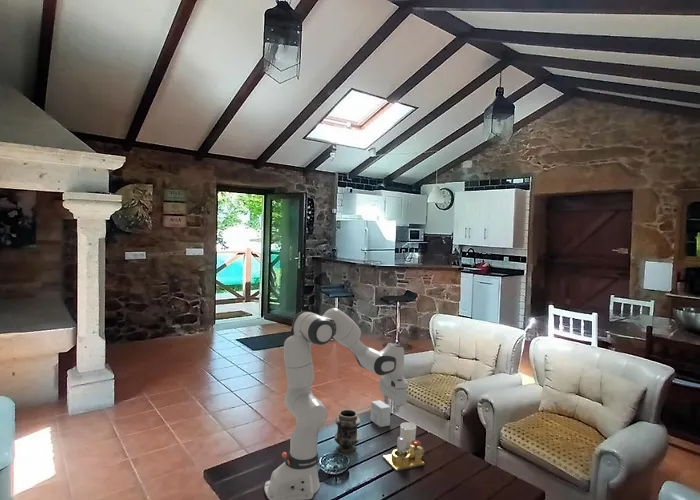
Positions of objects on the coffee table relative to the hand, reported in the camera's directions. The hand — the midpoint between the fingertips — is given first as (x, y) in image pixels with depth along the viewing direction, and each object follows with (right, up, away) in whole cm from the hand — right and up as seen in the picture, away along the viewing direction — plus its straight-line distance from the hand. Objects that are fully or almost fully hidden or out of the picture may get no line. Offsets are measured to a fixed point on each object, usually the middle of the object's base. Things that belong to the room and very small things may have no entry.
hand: (391, 407), depth 203 cm
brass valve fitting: (+7, -25, 0) cm, 26 cm away
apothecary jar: (-21, -23, +9) cm, 33 cm away
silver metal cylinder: (+4, -24, -1) cm, 24 cm away
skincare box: (-3, -22, +39) cm, 45 cm away
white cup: (+9, -24, +15) cm, 30 cm away
